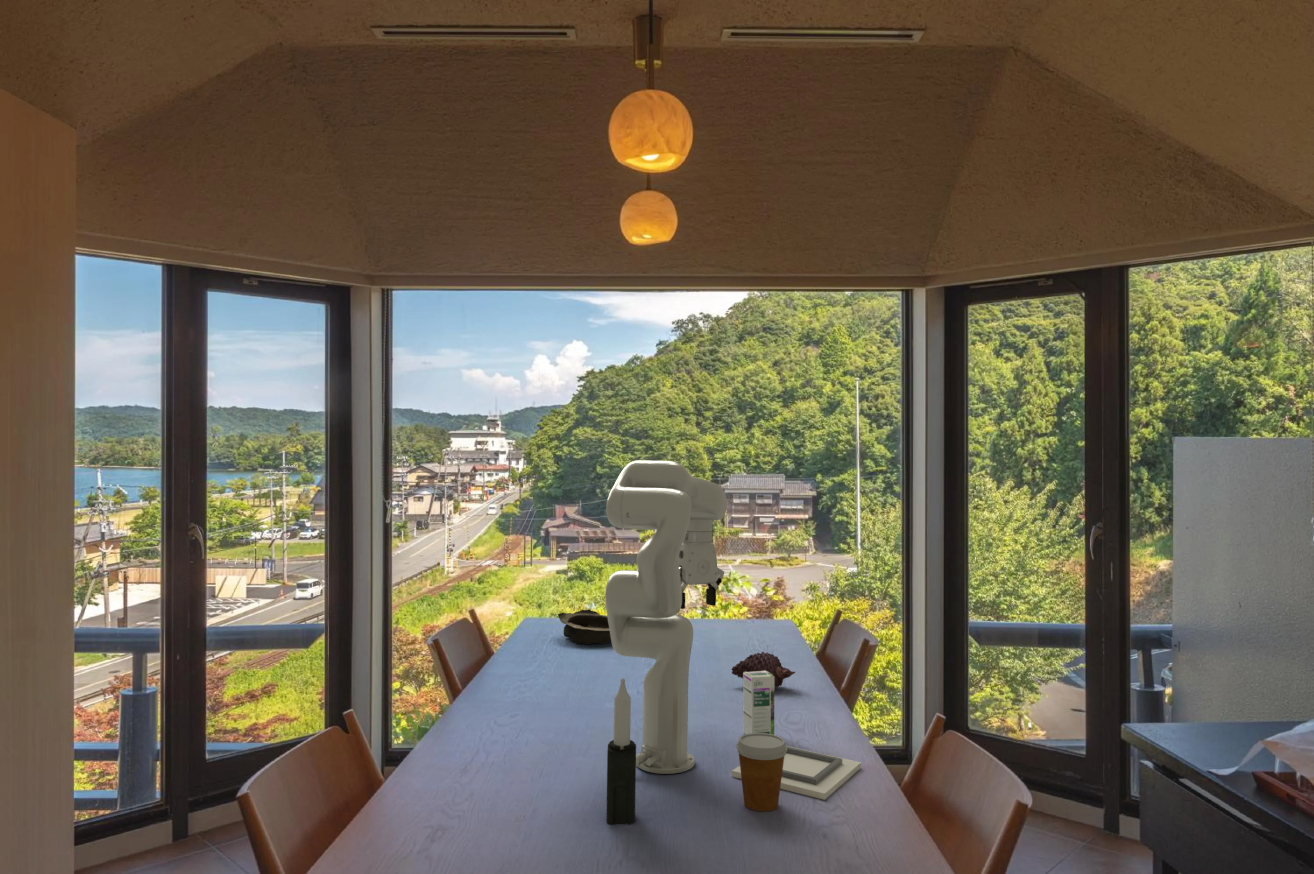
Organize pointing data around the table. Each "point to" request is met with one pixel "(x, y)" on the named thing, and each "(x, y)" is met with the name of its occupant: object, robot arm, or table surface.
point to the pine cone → (763, 667)
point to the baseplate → (813, 772)
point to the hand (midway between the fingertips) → (695, 606)
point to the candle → (621, 764)
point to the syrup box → (758, 702)
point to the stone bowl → (586, 627)
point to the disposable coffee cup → (761, 769)
